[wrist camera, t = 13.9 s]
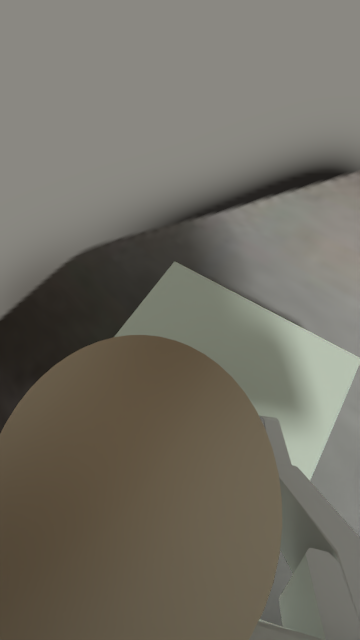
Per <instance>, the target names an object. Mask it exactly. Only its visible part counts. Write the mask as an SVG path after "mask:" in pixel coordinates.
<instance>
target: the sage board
mask: <svg viewBox="0 0 360 640" xmlns="http://www.w3.org/2000/svg"><path fill="white" fill-rule="evenodd" d="M127 335H150V336H159V337H163V338H167V339H171V340H175V341H178V342H181V343H183V344H186V345H188V346H191V347H192V348H194V349H196V350H198V351H200V352H201V353H203V354H205V355H206V356H208V357H209V358H211V359H212V360H213V361H215V362H216V363H217V364H219V365H220V366H221V367H222V368H223V369H224V370H225V371H226V372H227V373H228V374H229V375H230V376H232V378H233V379H234V380H235V381H236V382H237V384H238V385H239V386H240V387H241V388H242V390H243V391H244V392H245V394H246V395H247V397H248V398H249V400H250V401H251V403H252V404H253V406H254V407H255V409H256V411H257V413H258V415H261V416H267V417H273V418H277V419H278V420H279V422H280V426H281V429H282V433H283V436H284V440H285V443H286V446H287V450H288V453H289V457H290V460H291V464H292V465H294V466H297V467H298V468H299V469H300V470H301V471H302V472H303V474H304V475H305V476H306V477H307V478H308V479H309V480H311V477H312V475H313V473H314V470H315V468H316V466H317V463H318V461H319V459H320V456H321V454H322V452H323V449H324V447H325V444H326V442H327V440H328V437H329V435H330V433H331V430H332V428H333V426H334V423H335V421H336V419H337V416H338V414H339V411H340V409H341V407H342V404H343V402H344V400H345V397H346V395H347V393H348V390H349V388H350V386H351V383H352V381H353V378H354V376H355V374H356V371H357V369H358V367H359V364H360V358H359V357H357V356H355V355H353V354H351V353H349V352H347V351H346V350H344V349H342V348H340V347H338V346H336V345H334V344H332V343H330V342H328V341H326V340H324V339H323V338H321V337H319V336H317V335H315V334H313V333H311V332H309V331H307V330H305V329H303V328H301V327H300V326H298V325H296V324H294V323H292V322H290V321H288V320H286V319H284V318H282V317H280V316H278V315H277V314H275V313H273V312H271V311H269V310H267V309H265V308H263V307H261V306H259V305H257V304H256V303H254V302H252V301H250V300H248V299H246V298H244V297H242V296H240V295H238V294H236V293H234V292H233V291H231V290H229V289H227V288H225V287H223V286H221V285H219V284H217V283H215V282H213V281H211V280H210V279H208V278H206V277H204V276H202V275H200V274H198V273H196V272H194V271H192V270H190V269H189V268H187V267H185V266H183V265H181V264H179V263H177V262H175V261H174V263H173V264H172V265H171V266H170V268H169V269H168V270H167V271H166V273H165V274H164V275H163V276H162V278H161V279H160V280H159V281H158V283H157V284H156V285H155V286H154V288H153V289H152V290H151V291H150V293H149V294H148V295H147V296H146V298H145V299H144V300H143V301H142V303H141V304H140V305H139V306H138V308H137V309H136V310H135V311H134V313H133V314H132V315H131V316H130V318H129V319H128V320H127V321H126V323H125V324H124V325H123V326H122V328H121V329H120V330H119V331H118V333H117V334H116V335H115V336H114V337H119V336H127ZM280 551H281V550H280Z"/></svg>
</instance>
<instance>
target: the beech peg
mask: <svg viewBox="0 0 360 640" xmlns="http://www.w3.org/2000/svg"><path fill="white" fill-rule="evenodd" d="M281 534H282V496H281V488H280V481H279V473H278V469H277V465H276V461H275V457H274V452H273V449H272V446H271V443H270V440H269V438H268V435H267V432H266V429H265V427H264V425H263V423H262V421H261V419H260V417H259V415H258V413H257V411H256V409H255V407H254V406H253V404H252V403H251V401H250V400H249V398H248V397H247V395H246V394H245V392H244V391H243V390H242V388H241V387H240V386H239V385H238V384H237V382H236V381H235V380H234V379H233V378H232V376H230V375H229V374H228V373H227V372H226V371H225V370H224V369H223V368H222V367H221V366H220V365H219V364H217V363H216V362H215V361H213V360H212V359H211V358H209V357H208V356H206V355H205V354H203V353H201V352H200V351H198V350H196V349H194V348H192V347H191V346H188V345H186V344H183V343H181V342H178V341H175V340H171V339H167V338H163V337H159V336H150V335H127V336H119V337H113V338H109V339H106V340H102V341H98V342H96V343H93V344H91V345H88V346H86V347H83V348H82V349H80V350H78V351H76V352H74V353H72V354H71V355H69V356H67V357H66V358H64V359H63V360H62V361H60V362H59V363H57V364H56V365H54V366H53V367H52V368H51V369H50V370H49V371H47V372H46V373H45V374H44V375H43V376H42V377H41V378H40V379H39V380H38V381H37V382H36V383H35V384H34V385H33V386H32V387H31V388H30V389H29V390H28V392H27V393H26V394H25V396H24V397H23V398H22V399H21V401H20V402H19V403H18V405H17V406H16V408H15V409H14V411H13V412H12V414H11V416H10V417H9V419H8V420H7V422H6V424H5V426H4V428H3V430H2V432H1V434H0V640H249V639H250V637H251V635H252V633H253V631H254V629H255V627H256V625H257V623H258V621H259V619H260V617H261V615H262V613H263V611H264V608H265V606H266V603H267V600H268V597H269V594H270V591H271V588H272V585H273V582H274V578H275V573H276V568H277V564H278V559H279V554H280V545H281Z"/></svg>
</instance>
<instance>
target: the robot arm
mask: <svg viewBox="0 0 360 640" xmlns="http://www.w3.org/2000/svg"><path fill="white" fill-rule="evenodd" d="M259 417H260V419H261V421H262V423H263V425H264V427H265V429H266V432H267V435H268V438H269V440H270V443H271V446H272V449H273V452H274V457H275V461H276V465H277V469H278V473H279V481H280V488H281V496H282V534H281V545H280V550H281V552H282V554H283V556H284V558H285V560H286V562H287V563H288V565H289V567H290V569H291V571H292V573H293V576H292V577H291V579H290V581H289V582H288V584H287V586H286V587H285V589H284V591H283V592H282V594H281V596H280V597H279V603H280V611H281V618H282V625H283V627H282V626H279V625H275V624H272V623H269V622H266V621H262V620H259V621H258V623H257V625H256V627H255V629H254V631H253V633H252V635H251V637H250V639H249V640H360V537H359V536H358V535H357V534H356V533H355V532H354V531H353V529H352V528H351V527H350V526H349V525H348V524H347V523H346V521H345V520H344V519H343V518H342V517H341V516H340V515H339V513H338V512H337V511H336V510H335V509H334V508H333V507H332V505H331V504H330V503H329V502H328V501H327V500H326V499H325V498H324V496H323V495H322V494H321V493H320V492H319V491H318V490H317V488H316V487H315V486H314V485H313V484H312V483H311V482H310V480H309V479H308V478H307V477H306V476H305V475H304V474H303V472H302V471H301V470H300V469H299V468H298V467H297V466H294V465H292V464H291V460H290V457H289V453H288V450H287V446H286V443H285V440H284V436H283V433H282V429H281V426H280V422H279V420H278V419H277V418H273V417H267V416H261V415H259Z"/></svg>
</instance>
